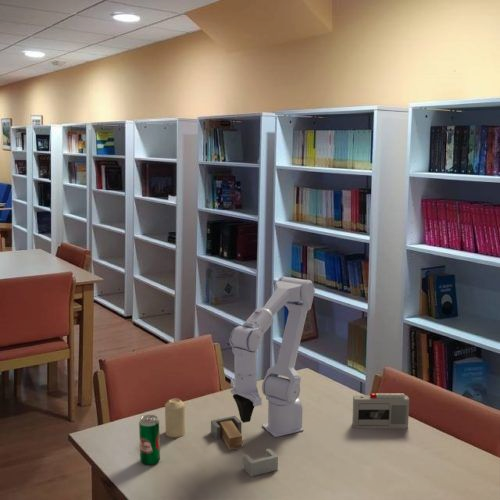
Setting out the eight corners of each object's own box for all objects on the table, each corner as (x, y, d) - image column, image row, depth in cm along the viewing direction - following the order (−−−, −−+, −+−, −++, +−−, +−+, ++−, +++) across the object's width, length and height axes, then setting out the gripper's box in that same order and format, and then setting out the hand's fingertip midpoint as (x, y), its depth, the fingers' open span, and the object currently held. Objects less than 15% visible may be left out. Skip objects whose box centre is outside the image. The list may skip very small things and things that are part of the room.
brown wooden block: (231, 431, 173) (231, 420, 172) (242, 448, 163) (242, 436, 163) (219, 433, 172) (219, 422, 171) (229, 450, 162) (229, 438, 162)
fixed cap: (234, 426, 175) (234, 415, 175) (241, 433, 171) (241, 422, 171) (210, 432, 172) (210, 420, 171) (217, 439, 168) (217, 427, 167)
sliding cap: (269, 461, 156) (269, 448, 156) (277, 469, 152) (277, 456, 152) (243, 467, 153) (243, 455, 152) (251, 476, 149) (251, 463, 148)
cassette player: (353, 428, 174) (354, 396, 173) (352, 424, 177) (353, 392, 175) (407, 428, 174) (409, 396, 173) (405, 424, 177) (407, 392, 175)
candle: (181, 438, 168) (181, 404, 167) (162, 436, 169) (162, 403, 168) (187, 429, 174) (187, 396, 172) (169, 427, 175) (168, 395, 173)
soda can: (136, 462, 155) (134, 419, 153) (149, 454, 160) (148, 412, 157) (150, 468, 153) (149, 424, 151) (164, 460, 157) (163, 417, 155)
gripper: (220, 365, 161) (220, 413, 163) (243, 384, 148) (243, 436, 151) (244, 361, 164) (244, 408, 166) (269, 379, 151) (268, 430, 154)
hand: (245, 421), depth 159 cm, fingers closed
